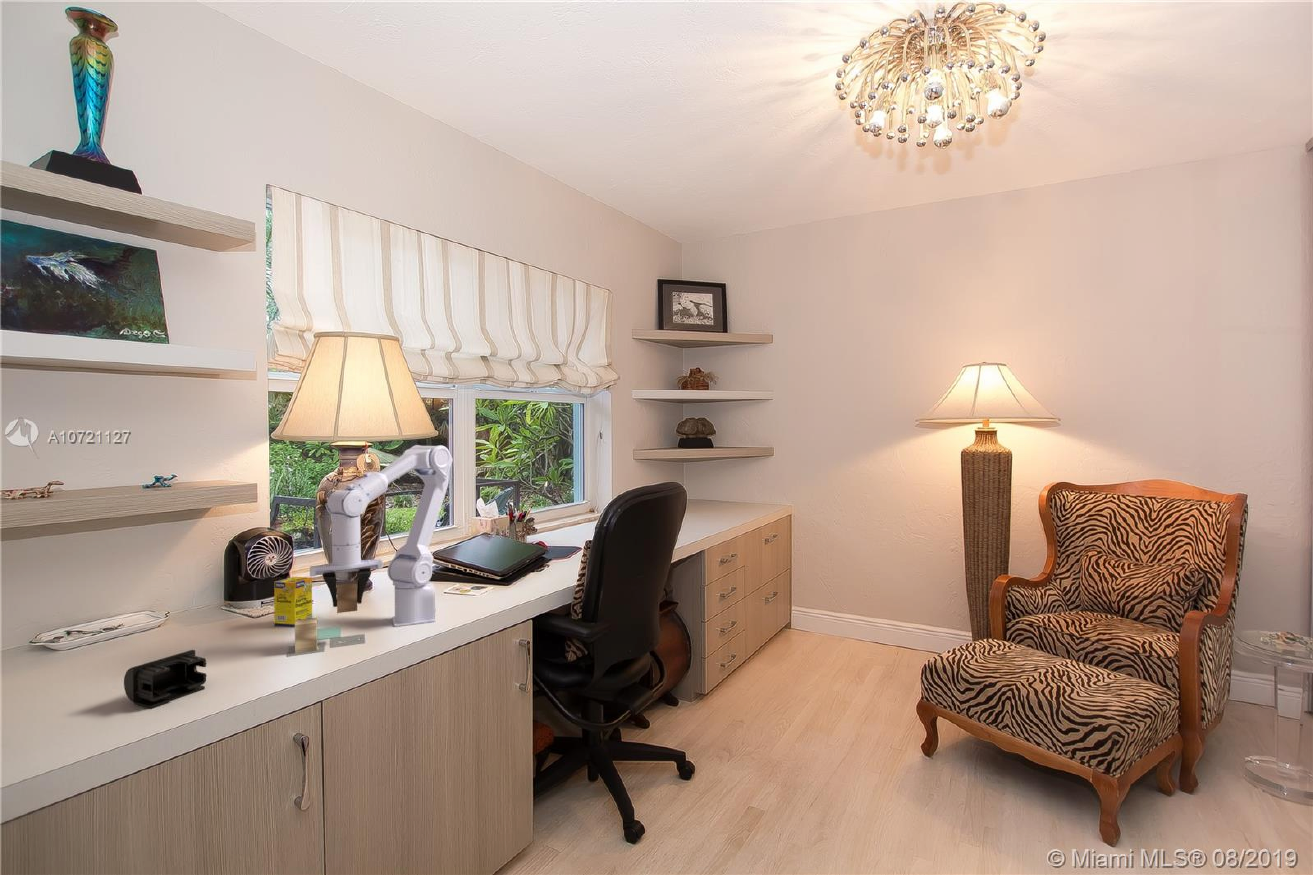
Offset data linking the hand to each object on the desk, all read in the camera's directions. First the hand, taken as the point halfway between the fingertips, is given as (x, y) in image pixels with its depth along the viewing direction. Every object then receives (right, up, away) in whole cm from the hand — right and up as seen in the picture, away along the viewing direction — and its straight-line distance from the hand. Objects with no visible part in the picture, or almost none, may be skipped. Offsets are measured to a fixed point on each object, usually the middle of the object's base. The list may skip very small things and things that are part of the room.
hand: (347, 604), depth 143 cm
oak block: (-6, -8, -5) cm, 12 cm away
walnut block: (0, -1, 0) cm, 1 cm away
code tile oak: (-6, -9, -5) cm, 12 cm away
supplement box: (-20, -9, +14) cm, 26 cm away
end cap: (-18, -9, -29) cm, 35 cm away
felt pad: (-9, -8, +5) cm, 13 cm away
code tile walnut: (0, -8, 0) cm, 8 cm away
